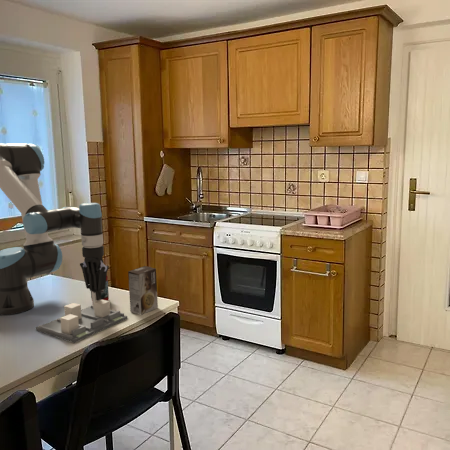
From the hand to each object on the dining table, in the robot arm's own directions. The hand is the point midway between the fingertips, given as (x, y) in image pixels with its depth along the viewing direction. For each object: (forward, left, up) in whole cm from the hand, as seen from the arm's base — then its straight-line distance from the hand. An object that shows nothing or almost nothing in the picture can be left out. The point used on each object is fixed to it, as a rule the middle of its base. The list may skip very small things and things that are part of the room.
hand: (97, 307), depth 168 cm
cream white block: (+3, 0, -2) cm, 4 cm away
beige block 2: (+5, -16, -2) cm, 17 cm away
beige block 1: (-4, -8, -2) cm, 9 cm away
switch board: (+1, -8, -3) cm, 9 cm away
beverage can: (-12, +12, -4) cm, 17 cm away
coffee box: (+10, +14, -4) cm, 18 cm away
